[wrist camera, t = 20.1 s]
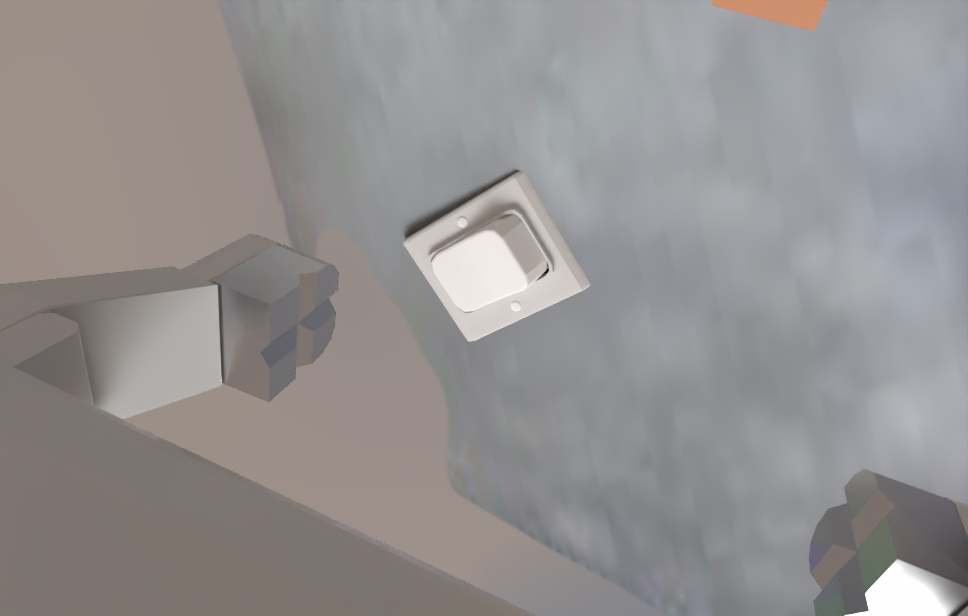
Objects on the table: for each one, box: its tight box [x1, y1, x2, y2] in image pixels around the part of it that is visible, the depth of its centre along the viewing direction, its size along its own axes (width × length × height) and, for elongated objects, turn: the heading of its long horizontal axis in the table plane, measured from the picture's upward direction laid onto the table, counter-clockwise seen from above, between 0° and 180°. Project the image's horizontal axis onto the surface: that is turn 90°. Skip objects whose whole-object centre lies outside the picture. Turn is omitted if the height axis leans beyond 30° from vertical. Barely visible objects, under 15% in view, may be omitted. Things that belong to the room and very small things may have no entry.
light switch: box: [403, 171, 590, 341], centre depth 51 cm, size 11×4×13 cm
